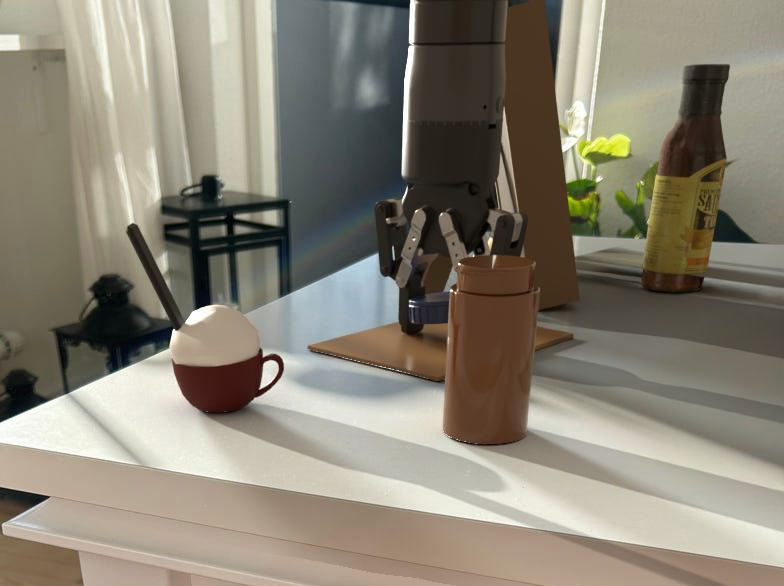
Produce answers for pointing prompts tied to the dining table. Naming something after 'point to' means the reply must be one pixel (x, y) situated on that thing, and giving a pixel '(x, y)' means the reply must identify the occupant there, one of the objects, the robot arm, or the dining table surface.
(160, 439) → the dining table surface
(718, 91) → the sauce bottle
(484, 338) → the jar
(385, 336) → the mat
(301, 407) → the dining table surface
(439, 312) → the lid
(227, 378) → the cocoa
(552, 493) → the dining table surface
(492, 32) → the robot arm
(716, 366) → the dining table surface
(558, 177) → the photo frame
